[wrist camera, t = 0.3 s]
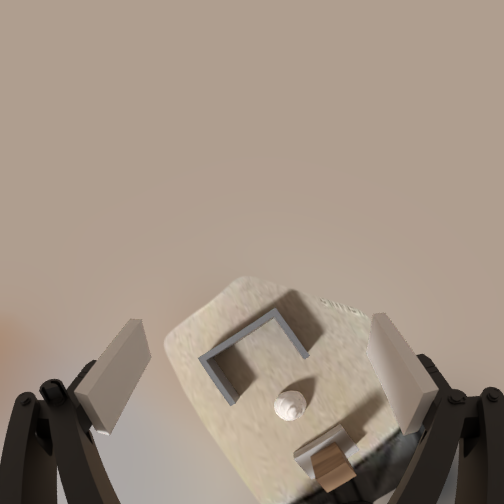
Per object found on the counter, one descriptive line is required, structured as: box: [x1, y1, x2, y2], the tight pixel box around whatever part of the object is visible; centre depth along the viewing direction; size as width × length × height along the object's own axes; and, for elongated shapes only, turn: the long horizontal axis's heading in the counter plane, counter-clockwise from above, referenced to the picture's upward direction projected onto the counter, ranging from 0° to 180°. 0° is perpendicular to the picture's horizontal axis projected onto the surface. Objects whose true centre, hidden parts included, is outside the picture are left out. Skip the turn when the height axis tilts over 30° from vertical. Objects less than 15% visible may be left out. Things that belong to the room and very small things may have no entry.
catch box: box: [198, 307, 310, 406], centre depth 44 cm, size 10×15×5 cm, turn 124°
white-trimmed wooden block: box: [293, 424, 359, 493], centre depth 35 cm, size 6×10×12 cm, turn 124°
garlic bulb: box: [274, 390, 306, 421], centre depth 41 cm, size 6×6×6 cm
